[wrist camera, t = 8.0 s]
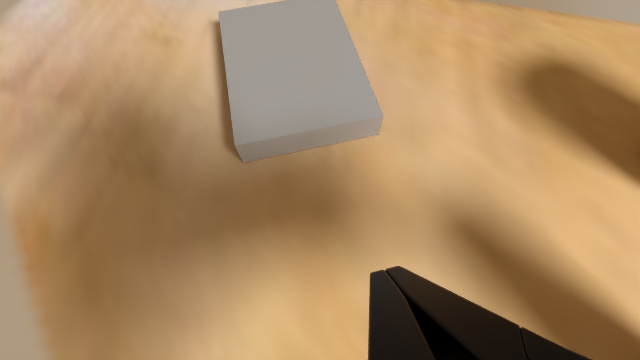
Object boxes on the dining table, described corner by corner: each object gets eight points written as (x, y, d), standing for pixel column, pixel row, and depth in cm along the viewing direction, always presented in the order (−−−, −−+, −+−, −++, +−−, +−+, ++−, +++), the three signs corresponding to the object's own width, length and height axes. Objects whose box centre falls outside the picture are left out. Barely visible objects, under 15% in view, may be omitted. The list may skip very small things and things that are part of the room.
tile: (383, 115, 20) (332, -8, 27) (234, 145, 20) (218, 11, 26) (377, 138, 23) (332, 20, 29) (244, 165, 22) (227, 38, 28)
